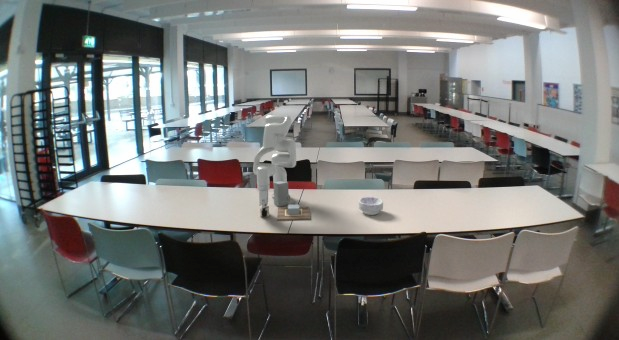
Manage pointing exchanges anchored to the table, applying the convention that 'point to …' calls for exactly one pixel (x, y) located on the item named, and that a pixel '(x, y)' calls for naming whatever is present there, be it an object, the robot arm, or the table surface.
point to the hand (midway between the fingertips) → (264, 214)
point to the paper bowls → (370, 205)
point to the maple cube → (267, 211)
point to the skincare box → (281, 193)
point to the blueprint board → (282, 212)
